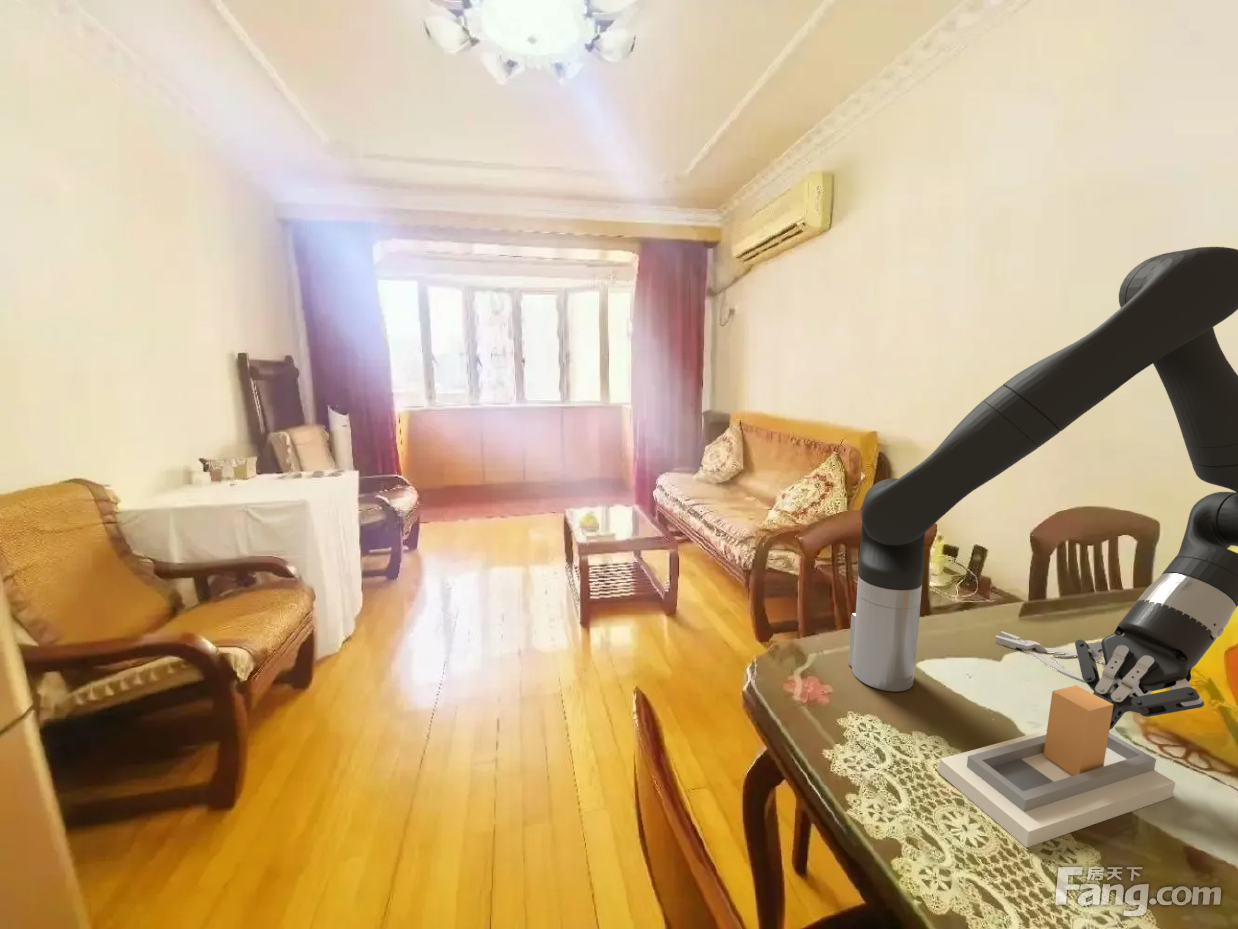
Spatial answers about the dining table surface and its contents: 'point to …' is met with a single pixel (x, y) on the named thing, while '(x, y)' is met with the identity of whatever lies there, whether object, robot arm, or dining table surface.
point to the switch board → (1053, 786)
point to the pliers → (1027, 647)
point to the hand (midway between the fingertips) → (1091, 725)
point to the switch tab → (1077, 730)
